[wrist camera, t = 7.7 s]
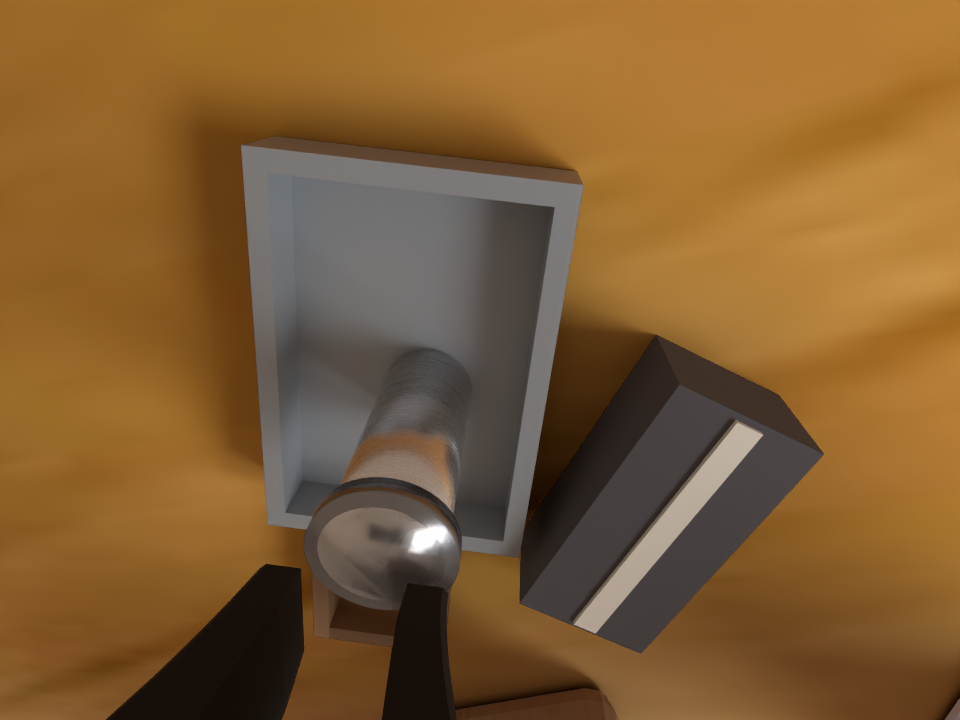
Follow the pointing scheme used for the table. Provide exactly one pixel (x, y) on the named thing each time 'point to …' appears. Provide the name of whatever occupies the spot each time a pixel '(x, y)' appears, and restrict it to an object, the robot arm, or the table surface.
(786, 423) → the block
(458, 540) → the pin
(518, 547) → the tray
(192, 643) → the robot arm
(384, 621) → the collar
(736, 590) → the table surface
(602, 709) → the wooden block
